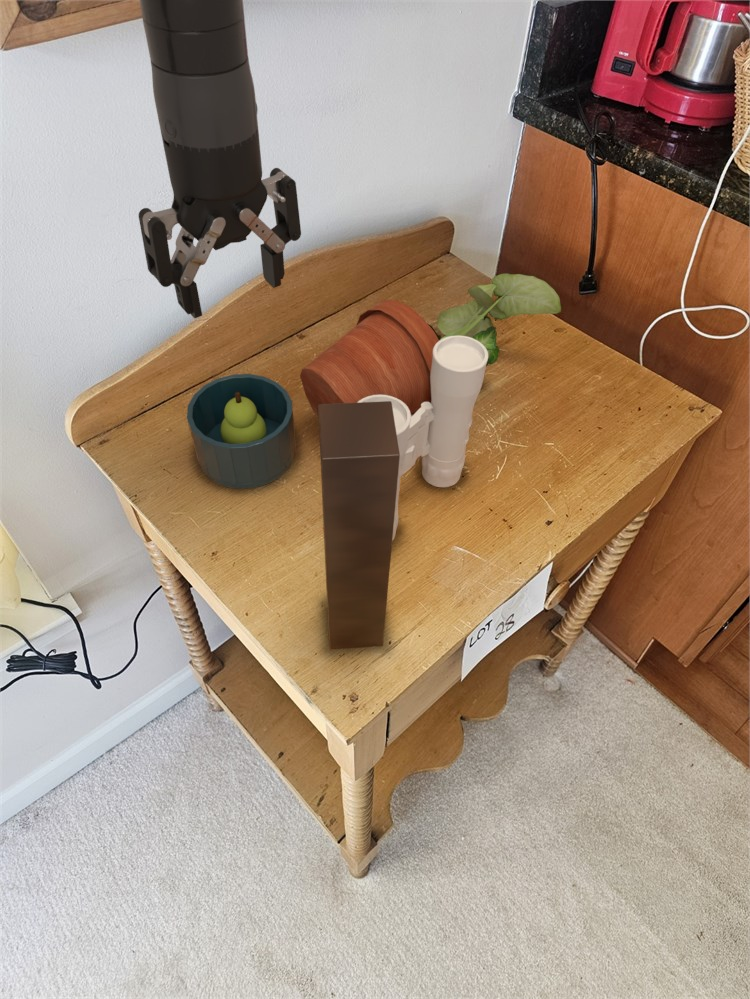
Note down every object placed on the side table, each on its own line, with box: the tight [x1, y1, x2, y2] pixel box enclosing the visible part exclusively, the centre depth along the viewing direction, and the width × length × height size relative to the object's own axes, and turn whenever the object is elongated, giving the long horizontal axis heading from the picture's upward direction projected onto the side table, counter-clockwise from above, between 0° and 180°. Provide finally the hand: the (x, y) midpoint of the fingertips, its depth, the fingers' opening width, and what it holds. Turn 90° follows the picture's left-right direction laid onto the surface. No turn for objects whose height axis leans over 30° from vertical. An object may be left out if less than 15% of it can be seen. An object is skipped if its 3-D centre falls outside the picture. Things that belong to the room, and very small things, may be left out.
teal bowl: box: [186, 373, 297, 490], centre depth 81 cm, size 12×12×7 cm
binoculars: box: [357, 335, 488, 542], centre depth 73 cm, size 17×5×18 cm, turn 138°
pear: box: [221, 392, 266, 444], centre depth 79 cm, size 5×5×9 cm
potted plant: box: [299, 272, 562, 419], centre depth 87 cm, size 16×15×35 cm
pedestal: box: [318, 401, 400, 651], centre depth 59 cm, size 5×5×28 cm
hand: (233, 297), depth 67 cm, fingers open, 8 cm apart
